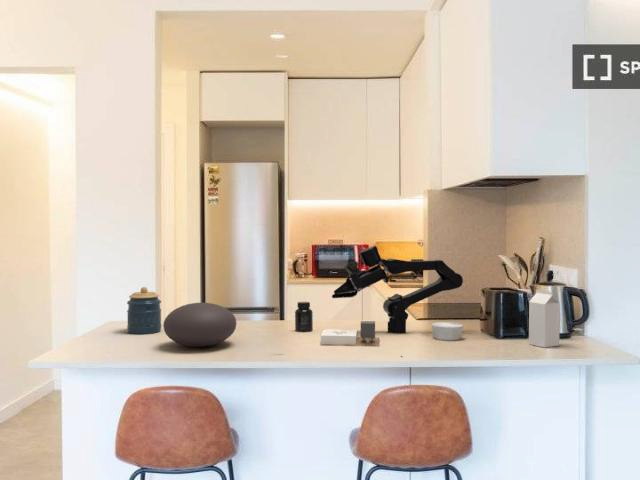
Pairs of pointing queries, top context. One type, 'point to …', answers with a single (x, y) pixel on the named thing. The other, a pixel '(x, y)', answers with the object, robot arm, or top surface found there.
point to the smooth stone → (199, 324)
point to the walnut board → (360, 343)
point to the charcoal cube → (367, 330)
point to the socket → (339, 337)
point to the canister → (144, 312)
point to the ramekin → (447, 331)
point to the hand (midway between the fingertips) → (333, 294)
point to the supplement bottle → (303, 317)
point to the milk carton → (544, 319)
